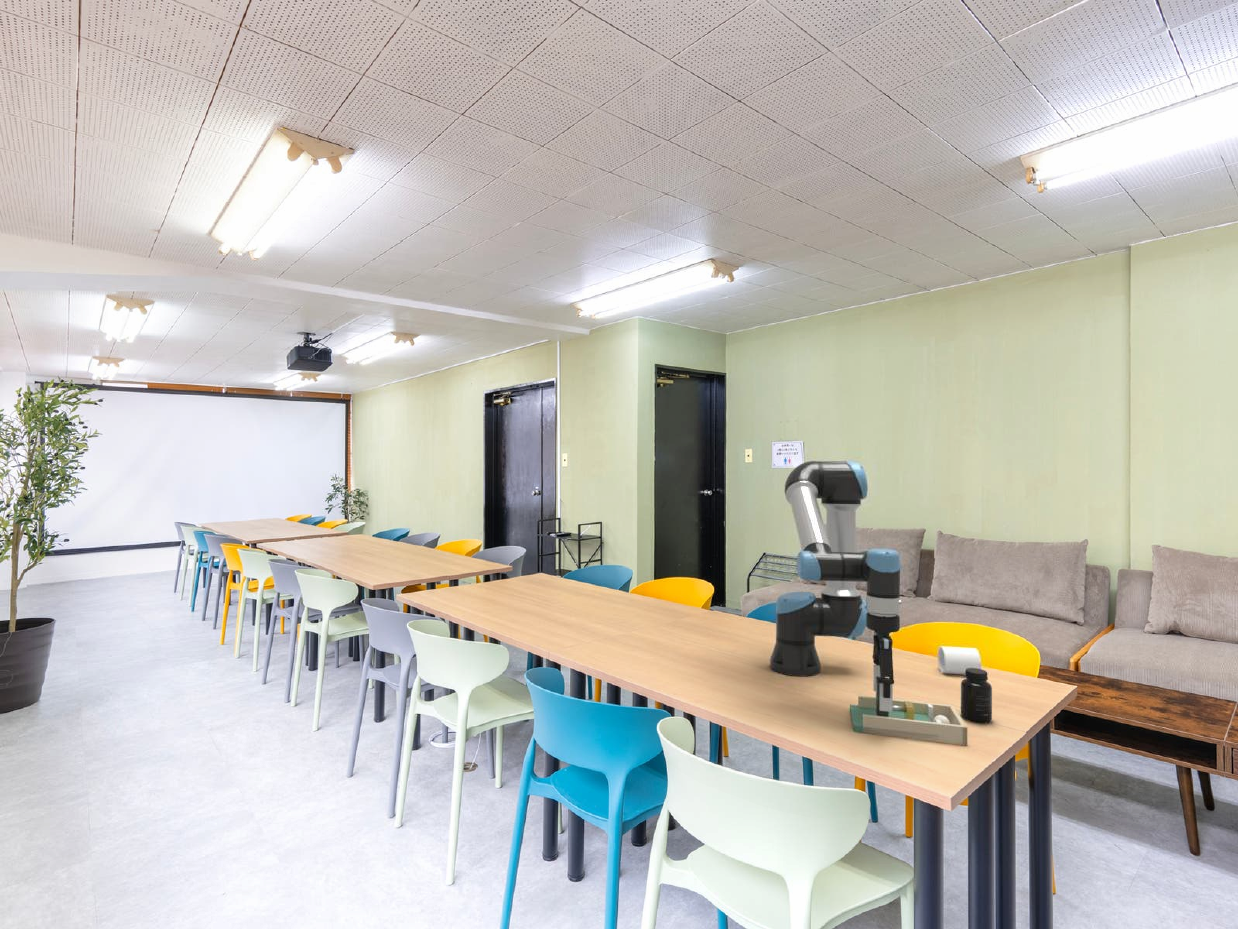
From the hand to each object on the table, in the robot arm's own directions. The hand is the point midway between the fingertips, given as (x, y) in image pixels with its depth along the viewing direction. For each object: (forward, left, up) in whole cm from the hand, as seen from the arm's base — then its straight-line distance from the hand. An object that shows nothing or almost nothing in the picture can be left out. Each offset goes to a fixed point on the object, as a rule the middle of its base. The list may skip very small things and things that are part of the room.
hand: (882, 700), depth 153 cm
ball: (+13, 0, -4) cm, 14 cm away
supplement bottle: (+23, +11, -6) cm, 26 cm away
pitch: (+5, 0, -6) cm, 8 cm away
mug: (+27, +51, -6) cm, 58 cm away
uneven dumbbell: (+3, 0, -4) cm, 5 cm away
